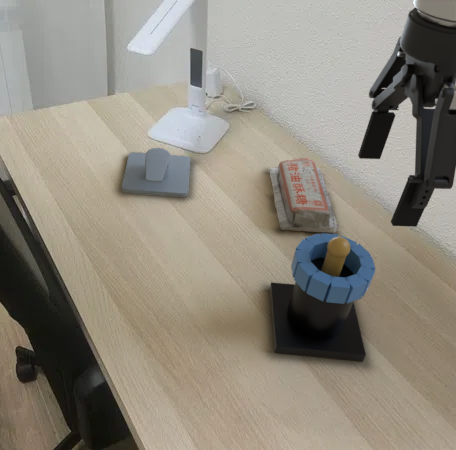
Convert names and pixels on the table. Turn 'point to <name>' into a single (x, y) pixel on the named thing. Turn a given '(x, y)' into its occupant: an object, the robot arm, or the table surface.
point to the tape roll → (325, 284)
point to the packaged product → (302, 197)
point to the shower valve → (157, 173)
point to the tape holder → (317, 315)
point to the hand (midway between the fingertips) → (384, 188)
